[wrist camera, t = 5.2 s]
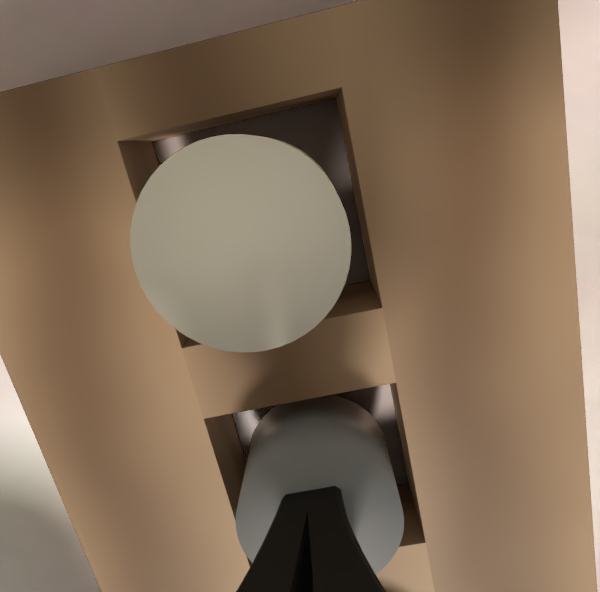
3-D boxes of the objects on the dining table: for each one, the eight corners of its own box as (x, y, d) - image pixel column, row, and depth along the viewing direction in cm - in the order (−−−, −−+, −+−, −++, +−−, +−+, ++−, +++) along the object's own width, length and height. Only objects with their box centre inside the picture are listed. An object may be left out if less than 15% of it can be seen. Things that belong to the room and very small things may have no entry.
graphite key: (373, 381, 14) (388, 438, 11) (397, 500, 15) (416, 578, 12) (234, 407, 14) (216, 469, 12) (267, 522, 15) (257, 602, 13)
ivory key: (323, 117, 11) (326, 109, 8) (356, 288, 12) (369, 329, 9) (150, 158, 11) (99, 163, 9) (198, 321, 12) (166, 370, 10)
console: (506, -11, 12) (554, -49, 10) (568, 657, 18) (606, 734, 16) (-26, 122, 13) (-101, 117, 11) (199, 707, 19) (183, 786, 17)
